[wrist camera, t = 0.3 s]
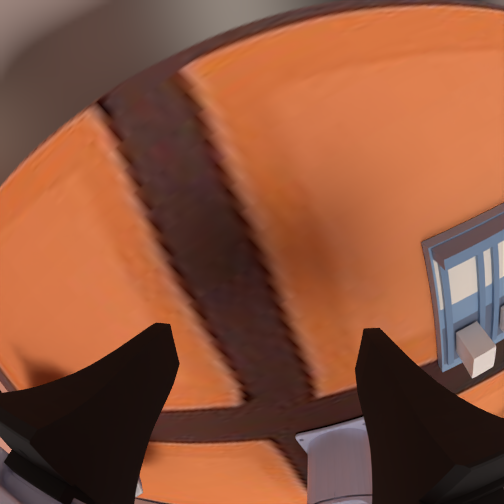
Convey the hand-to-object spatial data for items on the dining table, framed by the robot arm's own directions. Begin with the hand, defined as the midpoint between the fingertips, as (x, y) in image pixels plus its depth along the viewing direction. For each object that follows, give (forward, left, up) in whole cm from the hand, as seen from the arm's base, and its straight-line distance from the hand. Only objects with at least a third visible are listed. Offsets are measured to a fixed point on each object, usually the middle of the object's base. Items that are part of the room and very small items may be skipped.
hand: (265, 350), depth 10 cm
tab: (-13, -12, -8) cm, 20 cm away
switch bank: (-10, -15, -10) cm, 20 cm away
